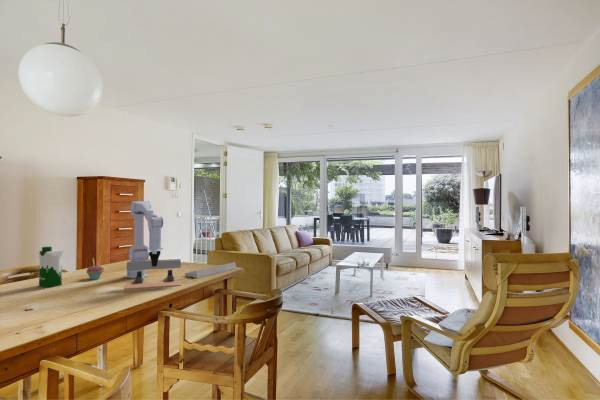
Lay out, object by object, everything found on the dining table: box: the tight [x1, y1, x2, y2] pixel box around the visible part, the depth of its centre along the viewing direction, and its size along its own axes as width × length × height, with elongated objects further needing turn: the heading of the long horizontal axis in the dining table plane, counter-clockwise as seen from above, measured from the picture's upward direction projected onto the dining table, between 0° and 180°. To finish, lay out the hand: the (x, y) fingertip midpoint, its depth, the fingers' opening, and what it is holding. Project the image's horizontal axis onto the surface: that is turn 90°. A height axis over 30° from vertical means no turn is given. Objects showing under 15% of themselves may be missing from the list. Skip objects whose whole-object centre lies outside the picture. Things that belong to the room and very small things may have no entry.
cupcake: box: [86, 257, 105, 280], centre depth 197 cm, size 9×8×12 cm
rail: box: [126, 258, 182, 272], centre depth 184 cm, size 26×4×4 cm, turn 111°
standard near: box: [133, 271, 145, 284], centre depth 191 cm, size 4×11×5 cm, turn 21°
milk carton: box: [38, 246, 64, 289], centre depth 179 cm, size 9×9×20 cm
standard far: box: [165, 269, 175, 282], centre depth 197 cm, size 4×11×5 cm, turn 21°
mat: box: [124, 280, 182, 290], centre depth 184 cm, size 27×9×1 cm, turn 111°
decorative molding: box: [184, 261, 237, 279], centre depth 220 cm, size 34×5×10 cm
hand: (154, 265), depth 184 cm, fingers closed on rail, 4 cm apart
